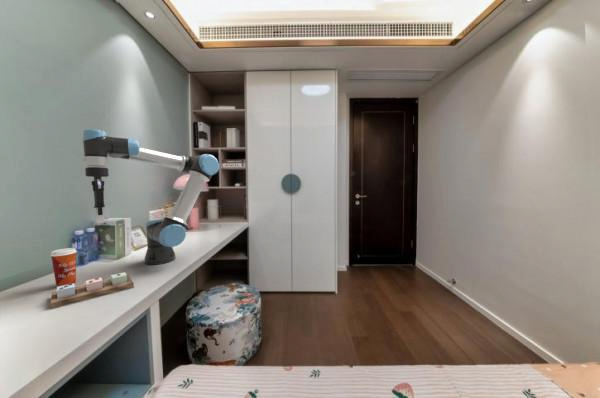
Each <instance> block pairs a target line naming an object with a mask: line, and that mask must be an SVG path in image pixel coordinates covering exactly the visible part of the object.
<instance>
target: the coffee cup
mask: <svg viewBox="0 0 600 398" xmlns="http://www.w3.org/2000/svg"><path fill="white" fill-rule="evenodd" d="M77 252H78V250H77V249H76V248H75V247H67V248H65V247H64V248H61V249H55V250H53V251H51V253H50V255H49V256H50V257H51V261H52V268H53V274H54V280H55V281H54V282H55V285H56V288H57V287H59V286H63V285H68V284H73V283H75V284H76V282H77Z"/></svg>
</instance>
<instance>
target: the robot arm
mask: <svg viewBox="0 0 600 398" xmlns="http://www.w3.org/2000/svg"><path fill="white" fill-rule="evenodd" d="M82 144H83V153H84V154H83V155H84V158H83V159H82V162H84V166H85V169H84V170H85V171H84V172H85V177H91V178H93V180H91V181H90V182H91V186H92V191H93V200H94V205H93V208H94V210H95V223H96V224H100V223H101V224H102V223H106V221H105V207H106V204H105V198H104V195H105V193H104V191H105V187H104V186H105V180H103V177H104V178H105V177H106V178H107V177H109V168H108V167H109V159H108V157H110V158H112V159H113V158H114V159H123V160H130V161H134V162H140V163H144V164H148V165H149V164H150V165H155V166H160V167H163V168H170V169H176V170H177V171H178V172H181V173H186V174H189V176H188V179H187V181H186V183H185V184H184V187H183V189H182V190H181V193H180V194H179V196H178V199H177V200H176V202H175V203H174V206H173V207H172V210H171V212H170V213H169V214H168V215H165V216H164V217H163V218H162V219H154V220H148V221H146V226H145V231H146V245H147V249H146V251H145V256H144V261H143V262H144V264H145V265H148V266H149V265H151V266H152V265H161V264H162V265H163V264H167V263H170V262H173V261H175V260H176V252H175V250H174V247H177V246H179V245H181V244H182V243H183V242H184V241H185V239H186V237H187V232H186V228H187V227H188V223H187V220H188V218H189V215H190V214H191V212H192V210H193V209H194V205H195V203H196V202H197V200H198V199H199V195H201V191H202V190H203V188H204V186H205V184H206V183H208V182H210V180H211V178H212V176H214V175H216V174H217V173H218V172H219V170H220V163H219V161H218V159H217V158H216V157H215V156H214V155H213V154H209V153H204V154H201V155H200V154H199V155H191V156H190V155H184V154H182V155H180V156H179V155H176V154H171V153H167V152H163V151H159V150H154V149H150V148H146V147H143V146H142V147H141V146H140V142H139V141H138V140H137V139H133V138H125V137H114V136H113V137H112V136H108V135H107V133H106V131H104V130H101V129H94V128H93V129H92V128H91V129H90V128H87V129H84V130H83V132H82Z"/></svg>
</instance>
